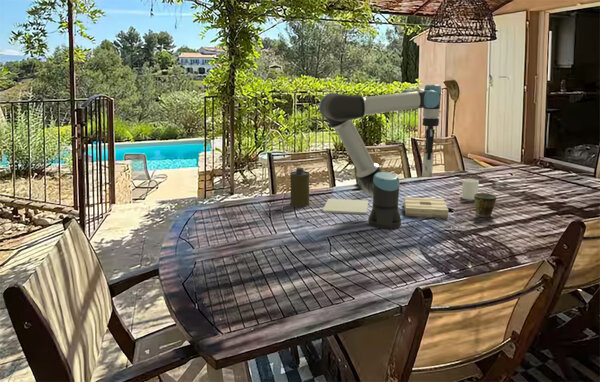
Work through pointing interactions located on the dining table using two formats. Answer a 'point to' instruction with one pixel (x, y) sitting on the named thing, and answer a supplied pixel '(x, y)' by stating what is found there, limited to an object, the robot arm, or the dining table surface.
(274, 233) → the dining table surface
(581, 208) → the dining table surface
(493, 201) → the ceramic cup
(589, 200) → the dining table surface
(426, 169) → the white peg
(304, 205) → the canister
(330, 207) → the pad
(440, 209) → the block
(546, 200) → the dining table surface
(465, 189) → the cup
